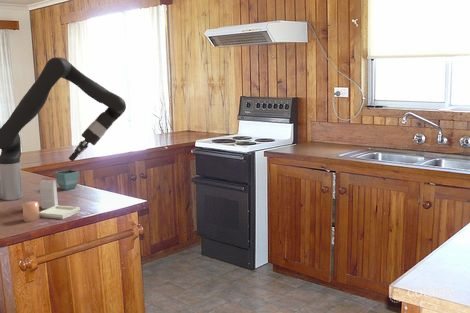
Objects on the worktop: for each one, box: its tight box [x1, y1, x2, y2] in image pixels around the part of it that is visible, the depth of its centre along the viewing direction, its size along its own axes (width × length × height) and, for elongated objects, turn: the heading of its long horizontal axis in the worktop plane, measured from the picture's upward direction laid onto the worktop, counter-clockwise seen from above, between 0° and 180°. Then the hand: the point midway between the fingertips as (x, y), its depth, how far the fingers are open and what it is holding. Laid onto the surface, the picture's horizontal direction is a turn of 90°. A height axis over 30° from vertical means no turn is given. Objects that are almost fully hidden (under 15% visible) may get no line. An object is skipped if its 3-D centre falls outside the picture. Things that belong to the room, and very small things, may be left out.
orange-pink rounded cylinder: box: [22, 200, 41, 223], centre depth 204 cm, size 6×6×7 cm
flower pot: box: [54, 169, 80, 191], centre depth 257 cm, size 9×9×9 cm
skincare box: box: [39, 179, 59, 210], centre depth 222 cm, size 6×4×12 cm
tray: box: [39, 204, 81, 220], centre depth 212 cm, size 12×12×2 cm
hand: (70, 159), depth 226 cm, fingers open, 8 cm apart
